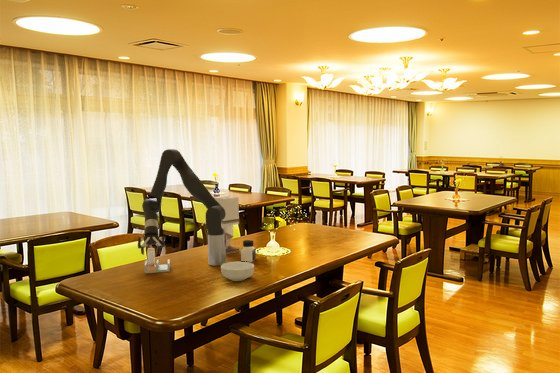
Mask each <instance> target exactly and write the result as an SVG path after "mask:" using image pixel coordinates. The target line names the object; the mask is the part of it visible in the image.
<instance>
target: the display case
mask: <svg viewBox="0 0 560 373" xmlns="http://www.w3.org/2000/svg"><path fill="white" fill-rule="evenodd" d="M213 198H214V199H215V200H216V201H217V202H218V203H219V204H220V205H221V206H222V207H223V208H224V210H225V213H226V215H225V218H224V219H223V220H221V227H222V228H223V229H224V247H226V255H230V254H234V252H235V253H239V252H240V248H239V247H236V246H232V245H231V240H232V239H233V238H234V226H236V225H240V216H239V215H240V214H239V213H240V210H239V209H240V208H239V205H240V204H239V201H240V200H239V196H237V197H236V196H234V197H230V195H223V196H222V195H221V196H213Z"/></svg>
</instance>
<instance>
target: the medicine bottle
mask: <svg viewBox="0 0 560 373" xmlns="http://www.w3.org/2000/svg"><path fill="white" fill-rule="evenodd" d="M242 247H243V248H241V249H240V262H241V261H245V262H246V261H247V262H249V263H253V262H254V261H255V260H256V259H257V258H256V256H257V253H256V249H257V248H256V247H254V240H252V239H245V240H243V242H242Z"/></svg>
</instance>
